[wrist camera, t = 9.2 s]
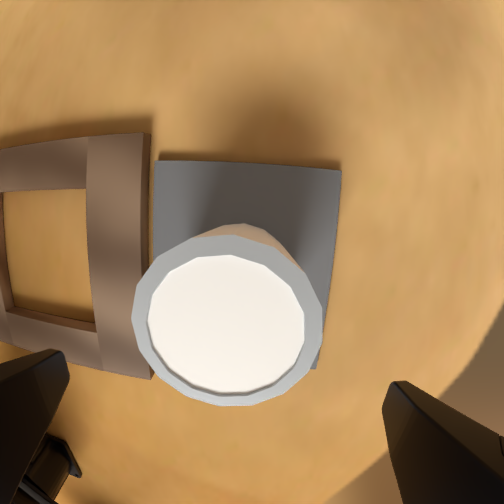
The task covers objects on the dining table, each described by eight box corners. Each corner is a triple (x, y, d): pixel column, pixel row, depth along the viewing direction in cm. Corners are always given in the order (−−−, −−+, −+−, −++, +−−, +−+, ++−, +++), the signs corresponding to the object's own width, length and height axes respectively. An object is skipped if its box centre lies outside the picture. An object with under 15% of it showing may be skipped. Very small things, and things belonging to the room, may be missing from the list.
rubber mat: (314, 364, 19) (315, 369, 19) (161, 353, 19) (159, 356, 19) (339, 170, 16) (341, 170, 16) (157, 161, 16) (154, 160, 16)
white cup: (162, 232, 17) (101, 266, 10) (283, 195, 16) (297, 207, 9) (201, 340, 18) (173, 418, 12) (314, 313, 18) (339, 387, 11)
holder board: (155, 370, 20) (150, 380, 18) (-3, 331, 20) (-11, 336, 19) (151, 135, 16) (143, 132, 15) (-22, 156, 16) (-32, 156, 15)
